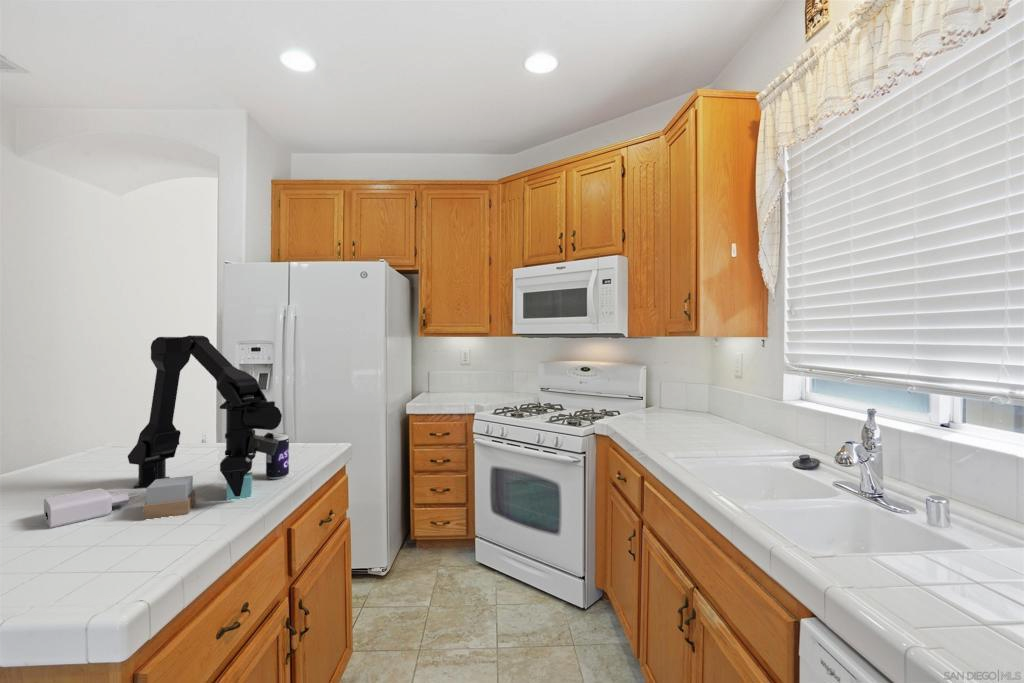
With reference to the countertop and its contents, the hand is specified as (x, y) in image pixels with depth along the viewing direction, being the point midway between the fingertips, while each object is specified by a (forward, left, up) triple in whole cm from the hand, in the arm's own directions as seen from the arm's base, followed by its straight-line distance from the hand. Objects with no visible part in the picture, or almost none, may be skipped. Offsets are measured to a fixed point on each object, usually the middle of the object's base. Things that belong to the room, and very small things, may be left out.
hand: (239, 490), depth 112 cm
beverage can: (-13, +8, -2) cm, 15 cm away
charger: (-1, -28, -2) cm, 28 cm away
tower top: (+5, -13, +2) cm, 14 cm away
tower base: (+5, -13, -2) cm, 14 cm away
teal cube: (0, 0, -1) cm, 1 cm away
